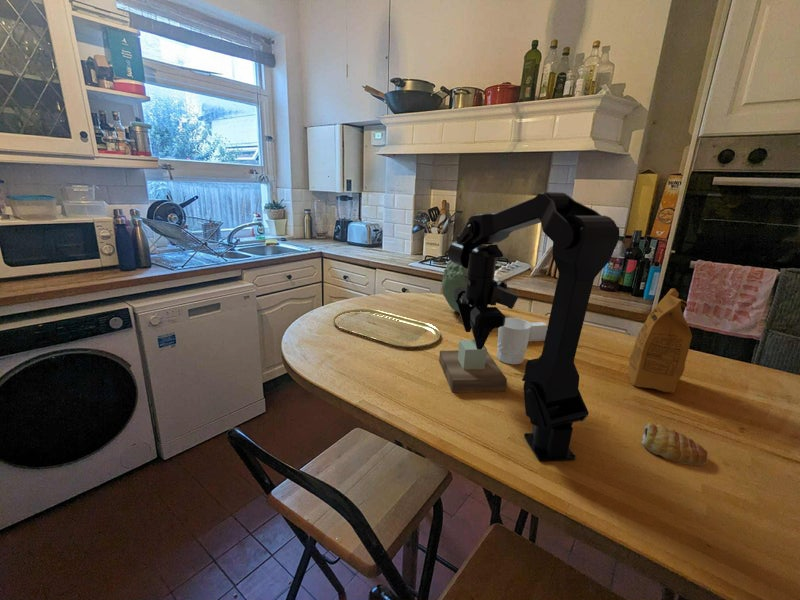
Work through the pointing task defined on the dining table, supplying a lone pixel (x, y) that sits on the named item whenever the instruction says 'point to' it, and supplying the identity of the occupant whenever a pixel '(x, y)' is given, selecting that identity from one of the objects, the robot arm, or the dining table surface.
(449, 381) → the walnut block
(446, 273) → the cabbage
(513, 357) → the white cup
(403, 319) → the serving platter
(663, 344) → the coffee package
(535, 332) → the napkin holder
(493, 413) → the dining table surface
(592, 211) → the robot arm
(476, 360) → the sage cube
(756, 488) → the dining table surface
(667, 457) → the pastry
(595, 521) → the dining table surface
